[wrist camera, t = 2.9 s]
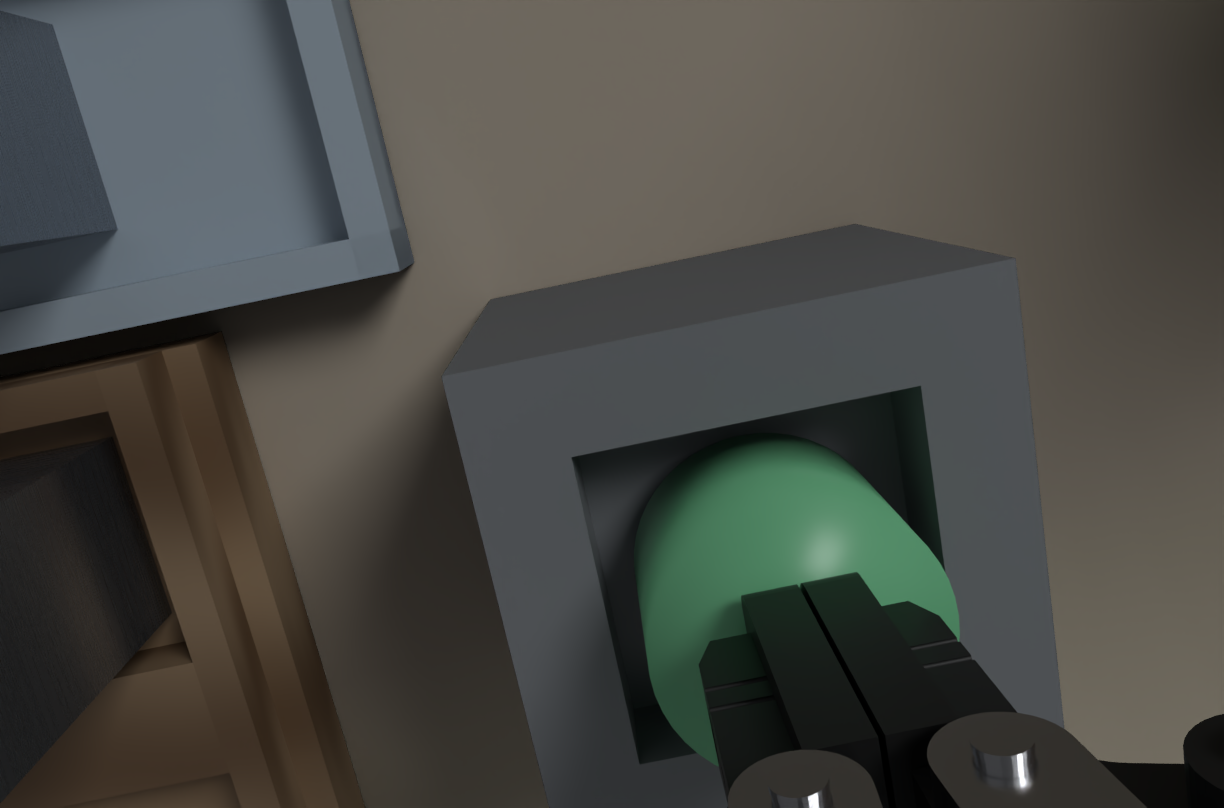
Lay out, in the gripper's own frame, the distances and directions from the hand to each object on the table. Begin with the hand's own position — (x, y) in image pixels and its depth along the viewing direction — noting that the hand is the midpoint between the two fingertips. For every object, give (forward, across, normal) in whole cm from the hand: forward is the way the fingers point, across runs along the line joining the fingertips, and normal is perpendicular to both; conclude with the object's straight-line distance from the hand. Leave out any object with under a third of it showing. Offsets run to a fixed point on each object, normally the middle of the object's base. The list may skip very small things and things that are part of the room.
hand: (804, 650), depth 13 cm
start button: (+3, 0, 0) cm, 3 cm away
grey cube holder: (+10, 0, 0) cm, 10 cm away
